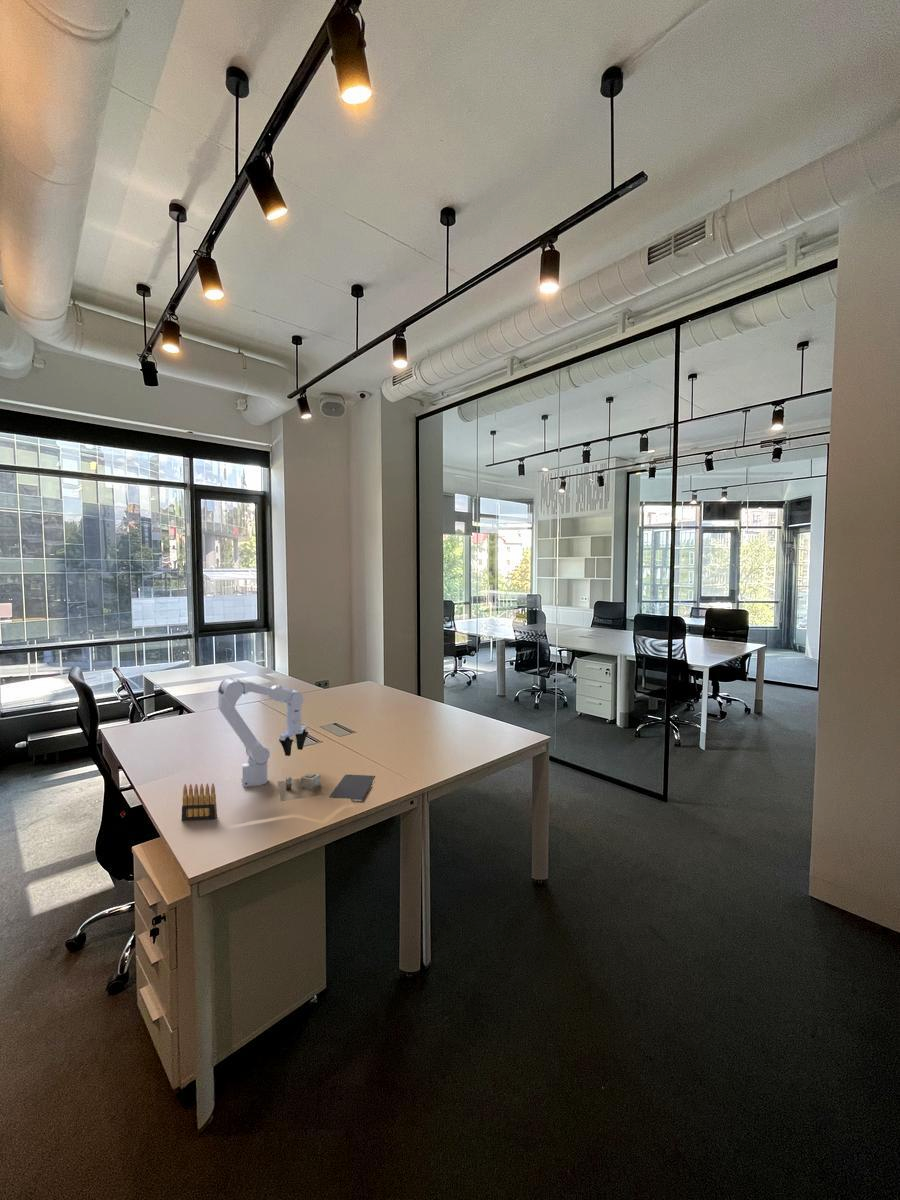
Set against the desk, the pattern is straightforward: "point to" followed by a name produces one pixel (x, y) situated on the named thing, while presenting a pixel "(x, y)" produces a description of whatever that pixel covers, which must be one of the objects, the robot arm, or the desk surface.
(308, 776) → the pale yellow square peg
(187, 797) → the ammunition clip
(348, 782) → the notebook
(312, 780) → the steel collar
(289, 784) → the grey metal cylinder
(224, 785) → the desk surface
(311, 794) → the tan board
